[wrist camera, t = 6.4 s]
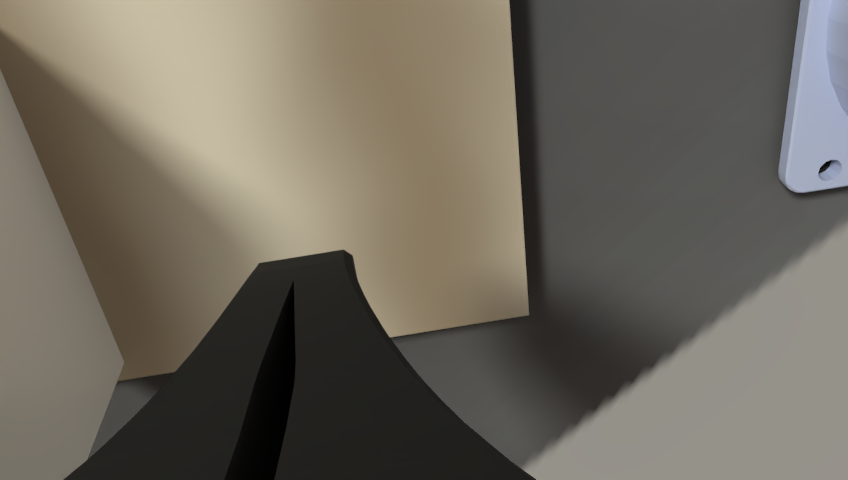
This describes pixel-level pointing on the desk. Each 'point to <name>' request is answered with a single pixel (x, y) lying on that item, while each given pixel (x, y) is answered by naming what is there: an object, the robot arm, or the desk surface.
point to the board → (275, 154)
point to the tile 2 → (45, 323)
